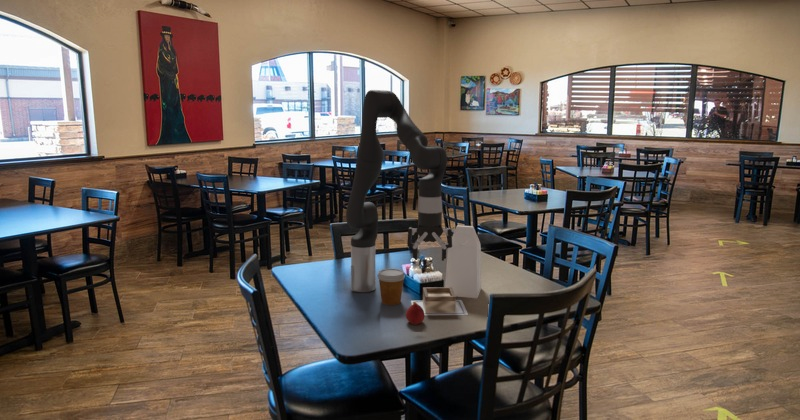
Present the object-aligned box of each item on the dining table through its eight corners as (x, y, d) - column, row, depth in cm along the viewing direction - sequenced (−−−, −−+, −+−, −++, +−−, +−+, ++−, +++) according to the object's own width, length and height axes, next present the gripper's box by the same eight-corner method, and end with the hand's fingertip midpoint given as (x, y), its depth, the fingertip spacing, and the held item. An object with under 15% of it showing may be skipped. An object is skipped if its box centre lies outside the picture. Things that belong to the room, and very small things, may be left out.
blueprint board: (413, 318, 181) (413, 315, 181) (410, 303, 195) (410, 300, 194) (468, 318, 182) (468, 314, 182) (461, 303, 195) (461, 299, 195)
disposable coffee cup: (389, 298, 200) (389, 266, 198) (410, 304, 194) (410, 271, 192) (371, 305, 193) (371, 272, 190) (392, 312, 187) (392, 278, 185)
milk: (481, 291, 208) (483, 224, 204) (477, 301, 197) (479, 230, 193) (449, 288, 211) (451, 222, 207) (444, 298, 201) (445, 228, 196)
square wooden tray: (425, 312, 183) (425, 297, 182) (422, 302, 193) (422, 287, 192) (455, 312, 183) (455, 296, 182) (451, 302, 193) (451, 287, 192)
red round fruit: (423, 322, 178) (423, 298, 176) (424, 329, 172) (425, 305, 171) (405, 322, 178) (405, 298, 176) (406, 329, 172) (406, 305, 171)
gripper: (406, 212, 171) (406, 262, 174) (452, 212, 170) (452, 263, 173) (408, 207, 178) (408, 256, 181) (452, 208, 177) (451, 257, 180)
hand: (429, 259), depth 177 cm, fingers open, 8 cm apart
